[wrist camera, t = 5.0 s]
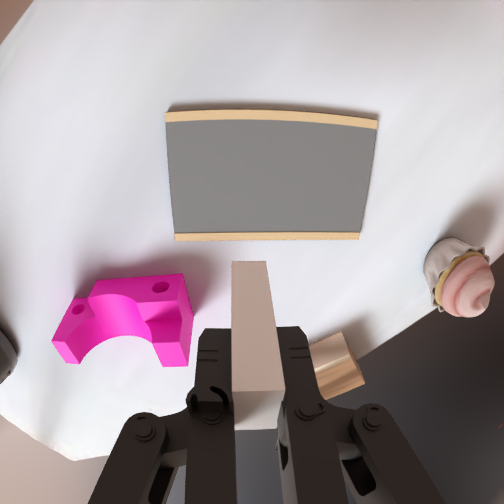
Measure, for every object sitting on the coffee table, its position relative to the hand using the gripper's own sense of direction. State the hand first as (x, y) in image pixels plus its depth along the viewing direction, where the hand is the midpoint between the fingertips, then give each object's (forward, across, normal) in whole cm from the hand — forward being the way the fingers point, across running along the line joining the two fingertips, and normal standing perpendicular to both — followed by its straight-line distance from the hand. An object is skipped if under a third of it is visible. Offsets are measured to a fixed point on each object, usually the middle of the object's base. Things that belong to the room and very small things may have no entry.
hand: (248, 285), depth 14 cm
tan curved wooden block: (+13, +14, -30) cm, 35 cm away
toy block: (+15, -13, -14) cm, 24 cm away
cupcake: (+15, +25, -8) cm, 30 cm away
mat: (+15, +3, 0) cm, 15 cm away
